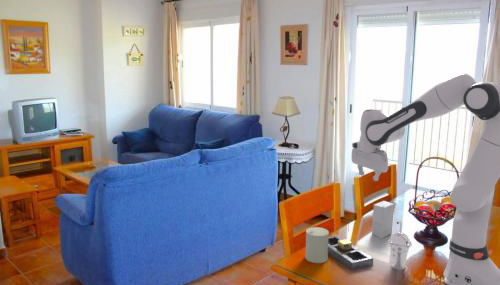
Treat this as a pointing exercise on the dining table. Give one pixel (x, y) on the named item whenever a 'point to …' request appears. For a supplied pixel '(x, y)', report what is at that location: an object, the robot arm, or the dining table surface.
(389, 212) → the skincare box
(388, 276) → the dining table surface
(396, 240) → the cup with straw
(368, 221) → the dining table surface
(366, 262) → the grey compartment tray
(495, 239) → the dining table surface
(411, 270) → the dining table surface
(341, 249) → the pale yellow upright block
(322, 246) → the can
